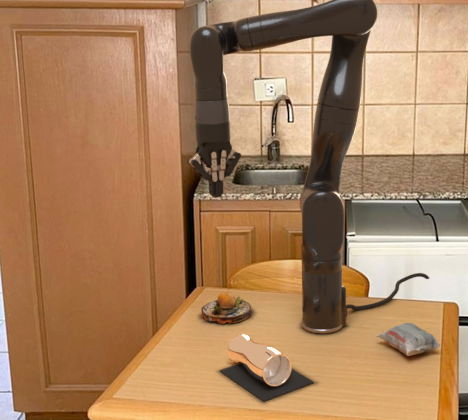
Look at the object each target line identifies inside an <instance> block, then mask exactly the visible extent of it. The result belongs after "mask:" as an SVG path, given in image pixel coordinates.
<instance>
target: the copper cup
mask: <svg viewBox="0 0 468 420" xmlns="http://www.w3.org/2000/svg"><path fill="white" fill-rule="evenodd" d="M227 356H228V357H229V359H230V361H232V362H233V363H236V364H242V365H243V366H244V367H245V368H246V370H247V371H248V372H249V373H250V374H251V375H252V376H253V377H255V378H256V379H258V380H259V381H261V382H263V383H265V384H268V385H269V386H272V387H276V386H280V385H282V384H283V383H284V382H285V381H286V380H287V379H288V378H289V376H290V373H291V368H292V367H293V365H292V362H291V359H290V357H288V356H287V355H286V354H284V353H283V352H281V350H279V349H277V348H276V347H274V346H271V345H269V344H265V343H260V342H256V341H255V340H254V339H252V337H250V336H249V335H247V334H243V333H242V334H238V335H236V336H234V337H233V338H232V339H231V340H230V342H229V344H228V346H227ZM292 369H293V368H292Z"/></svg>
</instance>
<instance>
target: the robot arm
mask: <svg viewBox="0 0 468 420" xmlns="http://www.w3.org/2000/svg"><path fill="white" fill-rule="evenodd" d="M377 20H378V7H377V4H376V2H375V0H328V1H326V2H323V3H320V4H319V3H318V4H316V5H312V6H308V7H304V8H298V9H290V10H283V11H282V10H281V11H274V12H267V13H264V14H257V15H252V16H247V17H244V18H240V19H237V20H233V21H225V22H224V21H223V22H218V23H211V24H206V25H203V26H200V27H197V28H196V29H195V30H194V31H192V34H191V36H190V38H189V55H190V61H191V62H190V63H191V68H192V72H193V79H194V81H193V87H194V123H195V124H194V125H195V126H194V127H195V141H196V149H195V154H194V155H193V156H192V157H191V158H190V157H189V158H187V159H186V163H187V164H188V165H189V167H190V168H191V169H192V170H193V171H194V172H195V173H196V174H197V176H198V177H199V178H200V179H202V180H205V181H207V182H208V193H209V195H210V196H211V197H212V198H214V199H217V198H221V197H222V196H223V194H224V179H225V178H227V177H228V178H229V177H231V175H232V174H233V172H234V170H235V169H236V166H237V164H238V163H239V161H240V159H241V157H242V154H241V153H240V152H238V151H237V150H234V149H233V145H232V144H231V139H232V134H231V115H230V105H229V99H228V97H229V95H228V81H227V80H228V79H227V76H226V74H225V72H224V71H225V70H224V56H227V55H231V54H235V53H240V52H243V53H247V52H248V53H249V52H254V51H261V50H265V49H271V48H275V47H279V46H284V45H287V44H291V43H294V42H299V41H304V40H308V39H314V38H321V37H322V38H323V37H331V44H330V45H331V46H330V53H329V58H328V61H327V65H326V67H325V72H324V74H323V78H322V81H321V85H320V89H319V94H318V96H317V97H318V98H317V103H316V109H315V114H314V122H313V129H312V138H311V151H310V160H309V164H308V170H307V172H306V177H305V181H304V185H303V187H302V190H301V193H300V197H299V209H300V212H301V235H302V236H301V246H300V248H301V249H300V250H301V251H300V252H301V253H300V254H301V255H300V256H301V311H302V312H301V313H302V316H301V319H302V321H301V327H302V329H304V330H305V331H307V332H309V333H313V334H331V333H336V332H338V331H340V330H341V329H342V328H344V327H347V317H348V310H349V309H350V310H352V311H362V310H369V309H372V308H376V307H379V306H382V305H384V304H387V303H388V302H391V300H393V299H394V297H395V296H396V295H397V293H398V292H399V290H400V286H401V284H403V283H405V282H407V281H409V280H411V279H414V278H424V279H425V280H429V279H430V276H429V275H427V274H426V273H424V272H416V273H412V274H409V275H407V276H405V277H401V278H400V279H398V280H397V281H396V283H395V285H394V289H393V291H392V292H391V293H390V294H389V296H387V297H386V298H384V299H382V300H379V301H377V302H373V303H370V304H363V305H354V304H347V288H346V286H344V285H343V247H344V243H345V241H344V240H345V208H344V202H343V200H342V198H341V196H340V186H341V177H342V176H341V175H342V169H343V165H344V162H345V158H346V155H347V153H348V150H349V148H350V146H351V143H352V141H353V138H354V135H355V134H356V133H355V132H356V129H357V124H358V119H359V113H360V108H361V102H362V101H361V100H362V90H363V67H364V59H365V55H366V54H365V53H366V50H367V45H368V42H369V38H370V34H371V31H372V29H373V28H374V26H375V25H376V23H377ZM202 164H203V165H204V167H203V166H202Z"/></svg>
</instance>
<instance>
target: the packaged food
mask: <svg viewBox="0 0 468 420" xmlns="http://www.w3.org/2000/svg"><path fill="white" fill-rule="evenodd" d="M376 337H377V338H378V339H381V340H383V342H385V344H387V345H388V346H391V347H393V348H395V349H397V350H398V351H399V352H401V353H403V354H404V355H406V356H407V357H410V356H415V355H419V354H420V355H421V354H424V353H427V352H431V351H434V350H436V349H438V348H440V347H441V345H440V343H439V342H438V340H437V339H436V337H435V336H434V334H431V333H430V332H428V331H426V330H424V329H422V328H420V327H419V326H417V325H416V324H415V323H413V322H403V323H401V324H398V325H395V326H393V327H390V328H389V329H387V330H386V331H385V332H382V333H379V334H376Z"/></svg>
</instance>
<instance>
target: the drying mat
mask: <svg viewBox="0 0 468 420" xmlns="http://www.w3.org/2000/svg"><path fill="white" fill-rule="evenodd" d="M219 372H220V373H221V374H222V375H224V376H226V377H227V378H228V379H230V380H231V381H233V382H234V383H235V384H237V385H239V386H240V387H241V388H243V389H244V390H246V392H249V393H250V394H252V395H253V396H254V397H256V398H257V399H258V400H260V401H262V402H264V403H265V402H267V401H271V400H273V399H275V398H278V397H280V396H281V397H282V396H284V395H286V394H289V393H292V392H294V391H297V390H299V389H302V388H305V387H308V386H310V385H313V384H314V383H315V382H314V380H311V379H310V378H308V377H307V376H305V375H303V374H301V373H300V372H298V371H297V370H295V369H293V368H291V373H290V376H289V378H288V379H287V380H286V381H285V382H284V383H283V384H282V385H280V386H276V387H272V386H269V385H268V384H265V383H263V382H261V381H259V380H258V379H256V378H255V377H253V376H252V375H251V374H250V373H249V372H248V371H247V370H246V368H245V367H244V366H243V365H242V364H239V363H236V364H234V365H231V366H227V367H226V368H223V369H220V370H219Z"/></svg>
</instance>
